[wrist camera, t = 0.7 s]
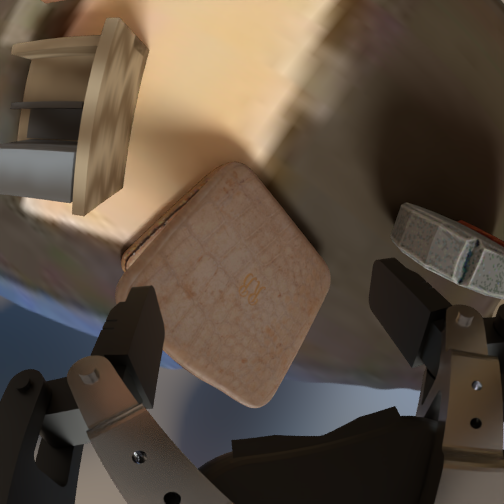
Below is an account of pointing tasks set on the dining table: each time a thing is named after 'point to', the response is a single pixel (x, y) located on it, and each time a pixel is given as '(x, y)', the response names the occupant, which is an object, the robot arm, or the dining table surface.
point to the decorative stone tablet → (451, 249)
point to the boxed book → (48, 0)
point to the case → (230, 283)
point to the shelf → (75, 117)
